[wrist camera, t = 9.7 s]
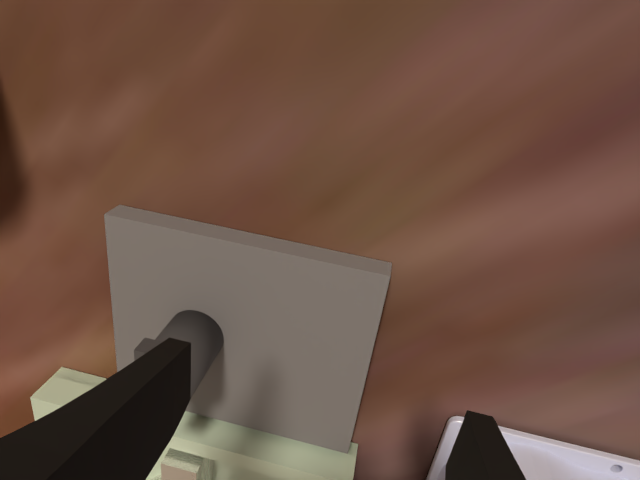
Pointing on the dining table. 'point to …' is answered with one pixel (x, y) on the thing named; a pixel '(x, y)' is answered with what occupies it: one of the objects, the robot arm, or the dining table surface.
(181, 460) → the ring
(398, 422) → the dining table surface
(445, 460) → the robot arm
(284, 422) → the base
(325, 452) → the tray
